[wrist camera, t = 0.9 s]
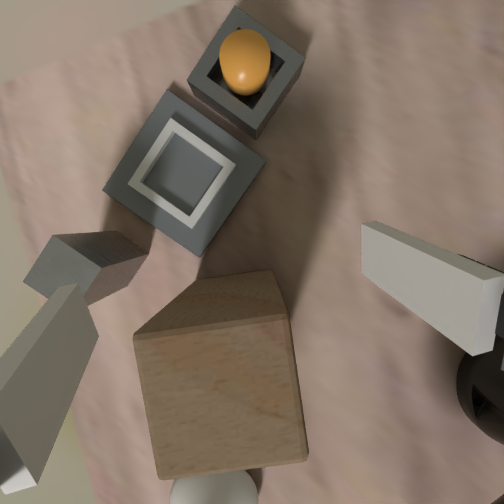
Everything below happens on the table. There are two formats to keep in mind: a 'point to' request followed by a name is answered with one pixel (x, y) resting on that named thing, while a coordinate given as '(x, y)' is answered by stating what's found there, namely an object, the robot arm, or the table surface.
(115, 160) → the table surface
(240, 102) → the button station
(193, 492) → the flower in vase
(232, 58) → the button
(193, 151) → the plate
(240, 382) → the wooden block
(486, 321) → the robot arm
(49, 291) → the steel billet
